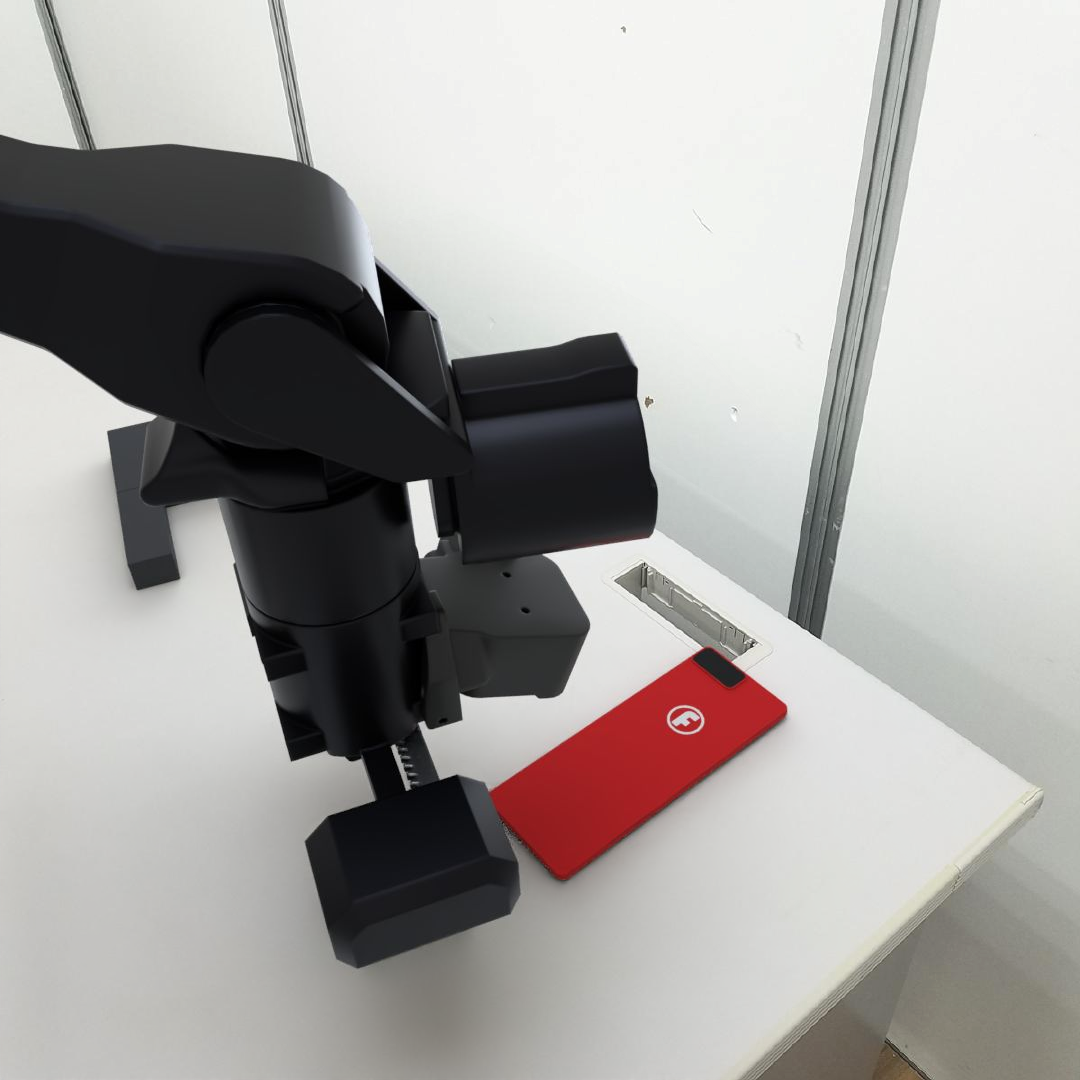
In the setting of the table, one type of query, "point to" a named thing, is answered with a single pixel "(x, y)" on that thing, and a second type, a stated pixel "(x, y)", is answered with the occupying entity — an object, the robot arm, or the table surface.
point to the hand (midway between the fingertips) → (387, 838)
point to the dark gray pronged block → (140, 512)
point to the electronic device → (634, 760)
